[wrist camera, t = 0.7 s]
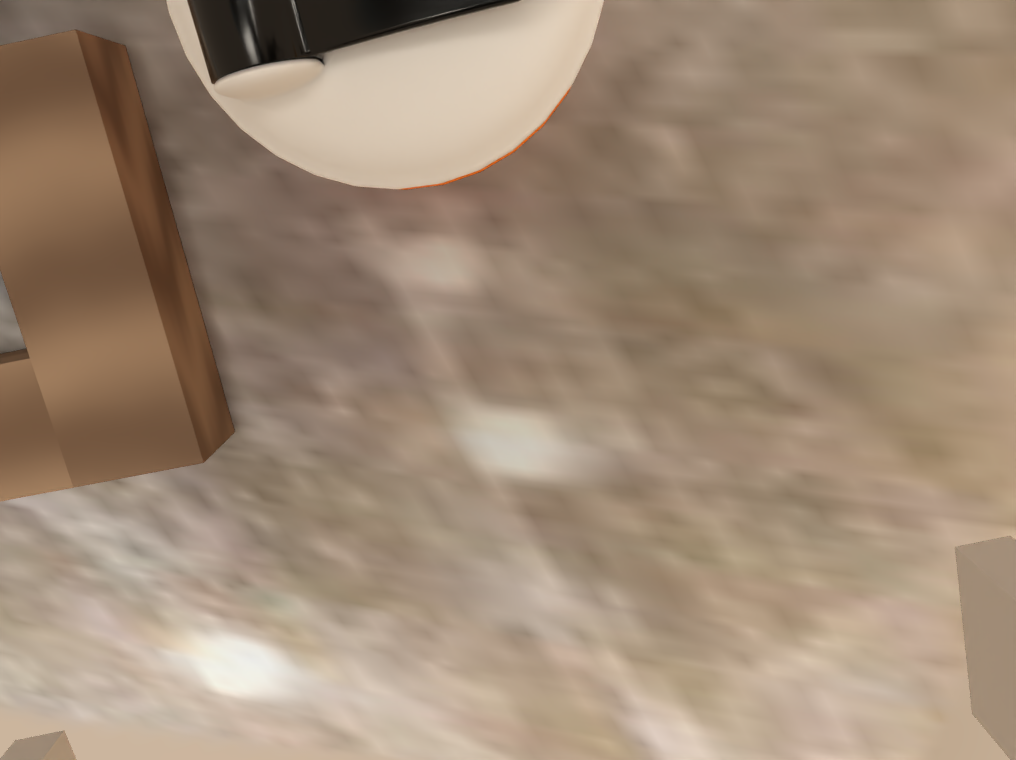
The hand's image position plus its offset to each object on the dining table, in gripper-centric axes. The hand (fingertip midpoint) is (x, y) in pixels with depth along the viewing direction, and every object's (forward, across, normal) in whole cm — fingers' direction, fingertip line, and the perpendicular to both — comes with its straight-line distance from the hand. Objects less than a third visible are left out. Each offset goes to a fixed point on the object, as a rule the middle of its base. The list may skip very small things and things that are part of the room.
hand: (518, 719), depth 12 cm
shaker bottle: (+25, 0, +12) cm, 28 cm away
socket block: (+25, -20, +7) cm, 33 cm away
